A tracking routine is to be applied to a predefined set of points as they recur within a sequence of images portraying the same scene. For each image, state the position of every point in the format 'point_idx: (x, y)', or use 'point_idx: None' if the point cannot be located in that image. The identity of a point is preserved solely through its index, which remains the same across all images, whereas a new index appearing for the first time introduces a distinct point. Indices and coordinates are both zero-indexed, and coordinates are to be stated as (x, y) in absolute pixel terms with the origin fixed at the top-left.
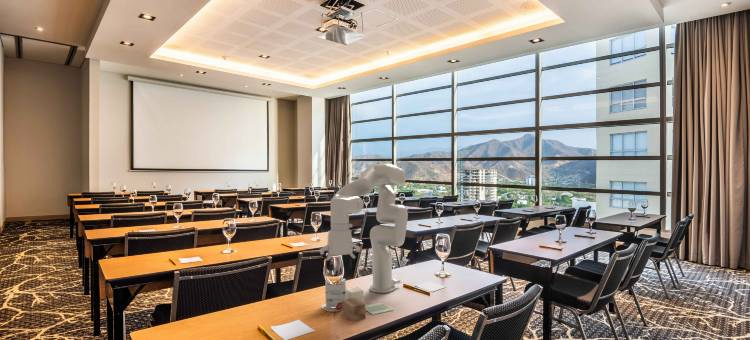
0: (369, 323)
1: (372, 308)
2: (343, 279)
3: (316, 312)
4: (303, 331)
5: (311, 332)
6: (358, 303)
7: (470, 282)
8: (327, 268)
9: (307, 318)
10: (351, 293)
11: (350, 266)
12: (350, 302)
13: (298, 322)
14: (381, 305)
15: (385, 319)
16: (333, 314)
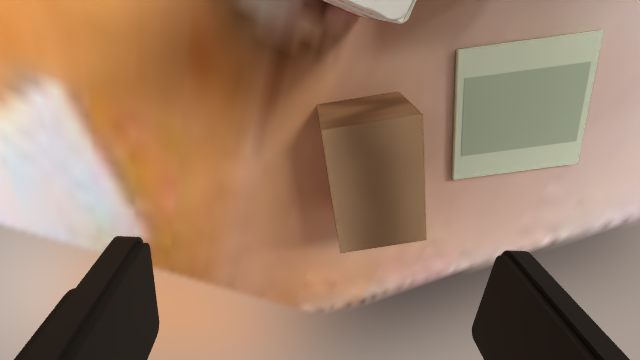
0: (393, 253)
1: (496, 107)
2: None
3: (167, 9)
4: (94, 233)
5: None
6: (393, 222)
7: None
8: (118, 238)
9: (108, 87)
10: None
11: (493, 280)
12: (355, 191)
13: (58, 125)
14: (567, 82)
15: (475, 240)
16: (266, 88)
